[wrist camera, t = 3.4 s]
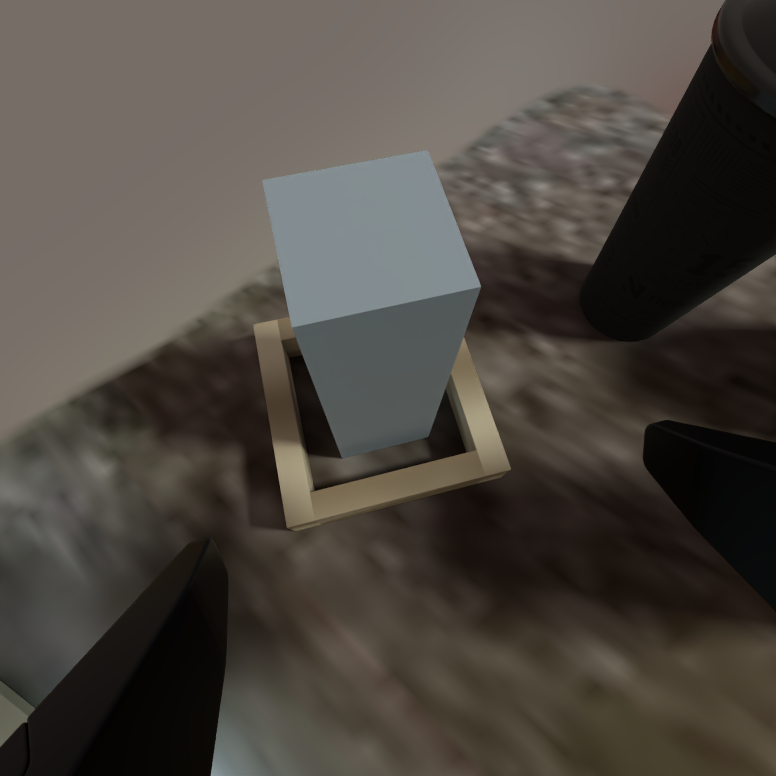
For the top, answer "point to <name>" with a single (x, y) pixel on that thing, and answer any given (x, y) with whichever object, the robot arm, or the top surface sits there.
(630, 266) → the drinking cup
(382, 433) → the post
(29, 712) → the mat
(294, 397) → the pocket
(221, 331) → the top surface
